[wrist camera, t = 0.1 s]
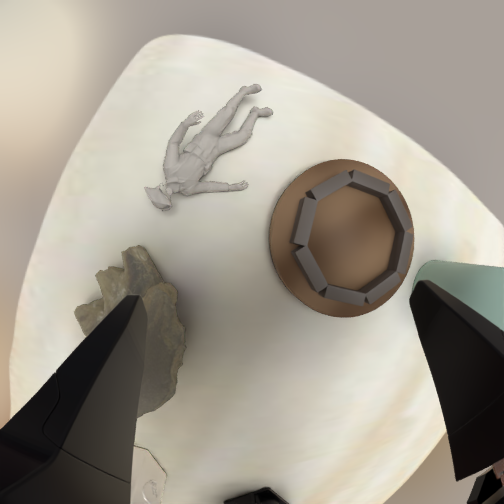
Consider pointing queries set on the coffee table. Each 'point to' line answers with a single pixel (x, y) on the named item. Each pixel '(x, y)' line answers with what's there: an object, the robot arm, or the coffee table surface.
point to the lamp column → (470, 286)
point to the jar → (146, 478)
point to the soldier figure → (204, 151)
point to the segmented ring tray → (342, 238)
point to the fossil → (158, 326)
